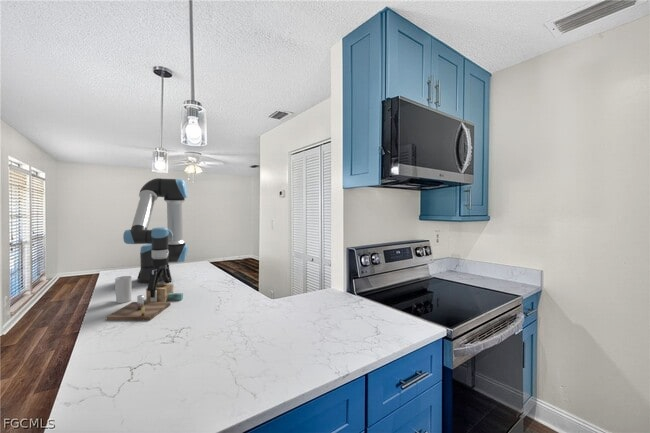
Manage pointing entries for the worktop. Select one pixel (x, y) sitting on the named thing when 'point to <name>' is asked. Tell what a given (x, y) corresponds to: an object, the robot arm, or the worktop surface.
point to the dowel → (142, 311)
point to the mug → (123, 289)
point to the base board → (139, 311)
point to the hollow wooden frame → (165, 293)
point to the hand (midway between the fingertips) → (160, 299)
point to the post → (140, 302)
